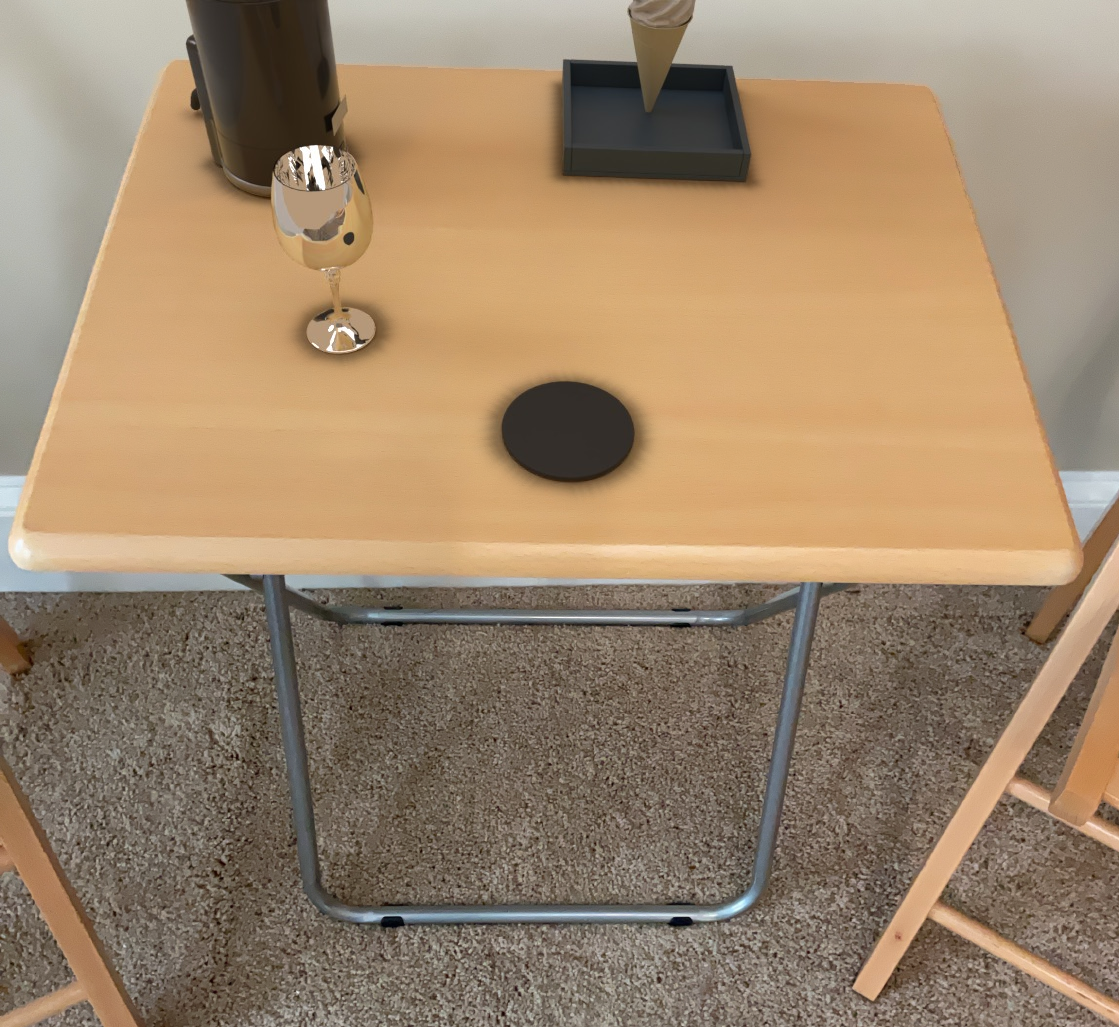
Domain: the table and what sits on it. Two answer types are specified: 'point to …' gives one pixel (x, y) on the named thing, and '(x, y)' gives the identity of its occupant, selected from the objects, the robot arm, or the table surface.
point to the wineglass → (325, 232)
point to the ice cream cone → (657, 40)
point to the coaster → (567, 431)
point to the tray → (652, 123)
